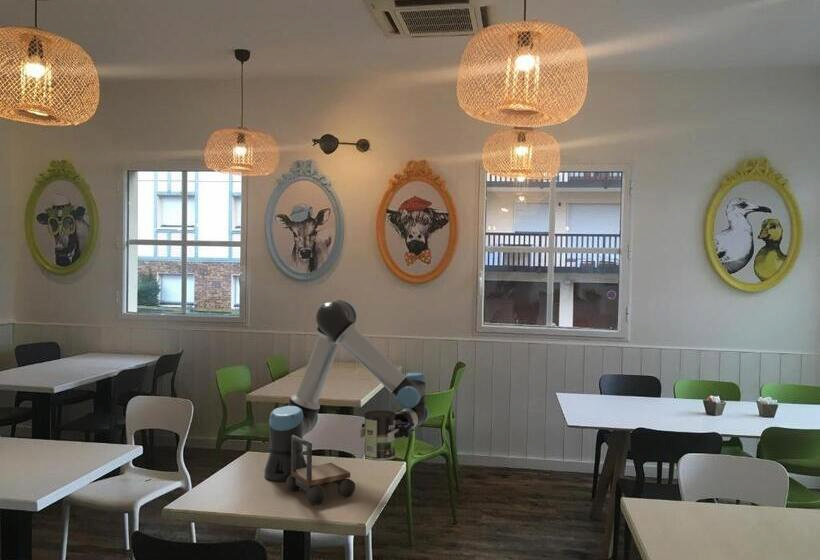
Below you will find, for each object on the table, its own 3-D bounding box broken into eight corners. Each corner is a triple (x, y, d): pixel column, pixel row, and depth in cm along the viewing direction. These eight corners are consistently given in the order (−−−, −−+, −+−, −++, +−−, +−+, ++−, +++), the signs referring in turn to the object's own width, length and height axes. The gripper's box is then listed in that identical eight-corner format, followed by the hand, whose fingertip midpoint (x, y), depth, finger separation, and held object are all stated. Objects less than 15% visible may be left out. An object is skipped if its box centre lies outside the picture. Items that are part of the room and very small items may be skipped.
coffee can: (398, 453, 213) (398, 411, 213) (391, 462, 203) (391, 417, 203) (368, 451, 215) (369, 409, 215) (360, 459, 205) (360, 416, 205)
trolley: (309, 506, 197) (309, 445, 197) (286, 491, 210) (286, 434, 210) (355, 495, 207) (355, 437, 207) (330, 481, 220) (330, 427, 220)
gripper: (432, 435, 221) (405, 451, 200) (375, 428, 230) (343, 443, 210) (433, 414, 220) (405, 428, 200) (375, 407, 230) (343, 420, 210)
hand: (373, 435), depth 205 cm, fingers closed on coffee can, 10 cm apart
